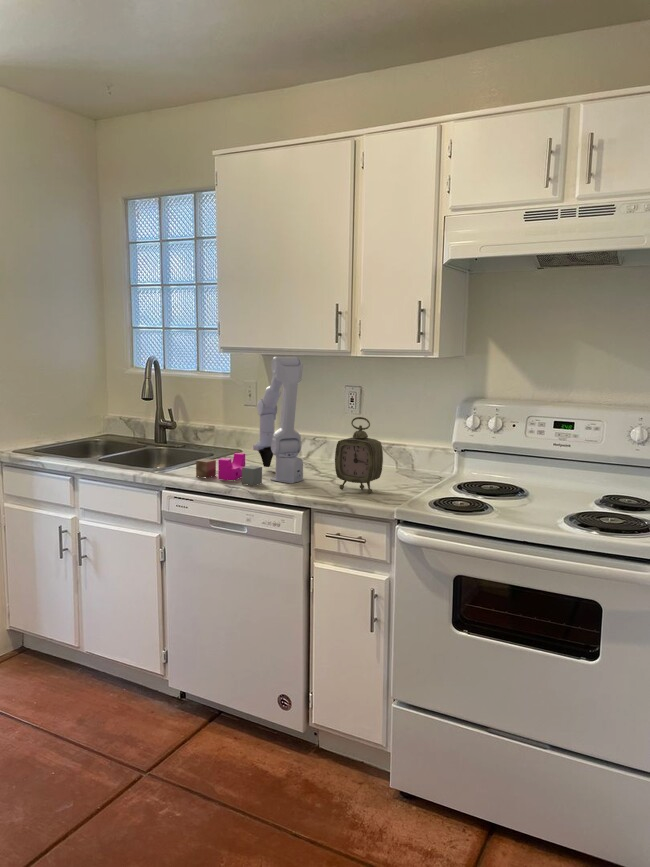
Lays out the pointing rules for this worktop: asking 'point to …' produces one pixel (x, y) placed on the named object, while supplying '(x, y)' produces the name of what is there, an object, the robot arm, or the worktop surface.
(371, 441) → the tabletop clock
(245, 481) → the slate block
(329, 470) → the worktop surface
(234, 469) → the toy block
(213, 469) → the walnut block
